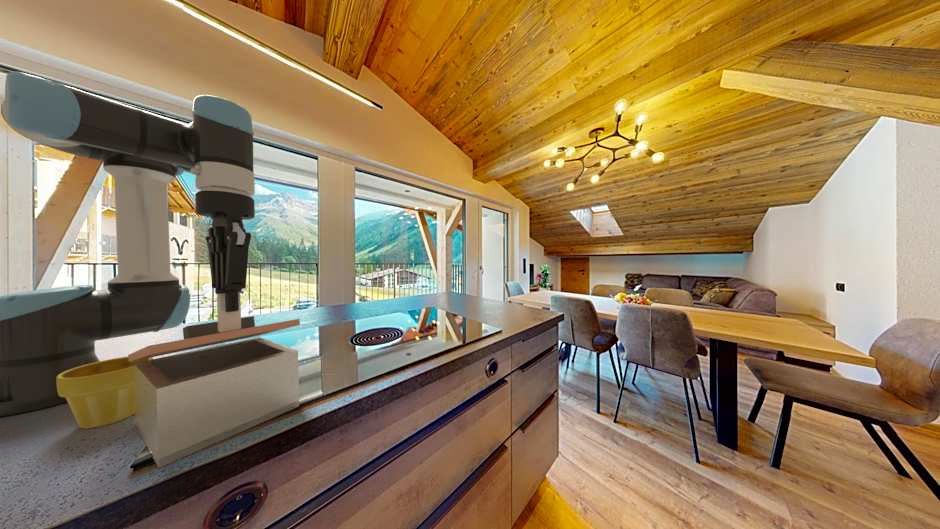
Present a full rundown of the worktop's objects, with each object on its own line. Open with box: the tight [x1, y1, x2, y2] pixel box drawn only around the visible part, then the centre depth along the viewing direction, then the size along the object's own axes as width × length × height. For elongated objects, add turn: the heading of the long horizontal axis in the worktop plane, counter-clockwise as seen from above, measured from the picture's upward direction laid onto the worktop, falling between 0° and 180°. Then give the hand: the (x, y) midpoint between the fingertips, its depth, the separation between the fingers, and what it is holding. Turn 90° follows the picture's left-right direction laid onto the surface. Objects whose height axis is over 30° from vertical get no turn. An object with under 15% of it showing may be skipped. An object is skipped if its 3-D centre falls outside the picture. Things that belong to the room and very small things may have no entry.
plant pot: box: [56, 356, 154, 430], centre depth 48 cm, size 10×10×10 cm
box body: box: [134, 336, 300, 469], centre depth 49 cm, size 18×18×11 cm
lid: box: [127, 316, 301, 362], centre depth 49 cm, size 19×19×4 cm
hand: (229, 329), depth 46 cm, fingers closed
